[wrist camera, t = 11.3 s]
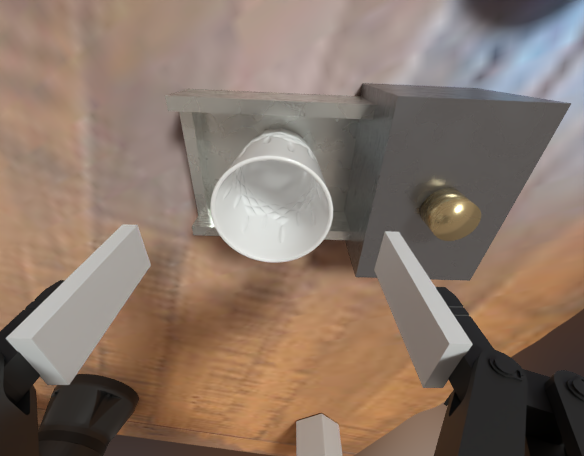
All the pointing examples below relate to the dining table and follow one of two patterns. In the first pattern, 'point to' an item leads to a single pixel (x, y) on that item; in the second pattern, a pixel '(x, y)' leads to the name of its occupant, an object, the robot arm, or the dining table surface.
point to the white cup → (273, 199)
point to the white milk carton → (317, 437)
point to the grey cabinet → (387, 161)
